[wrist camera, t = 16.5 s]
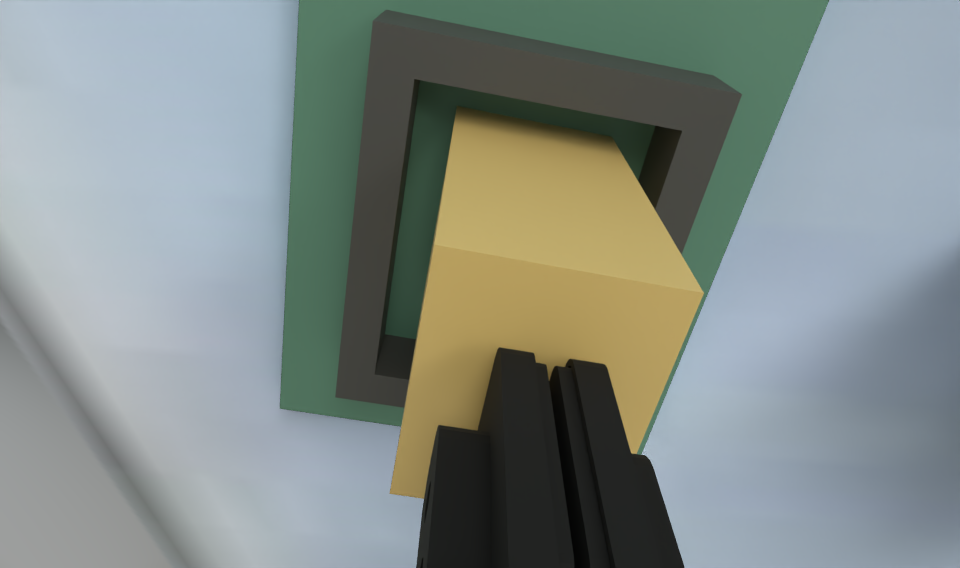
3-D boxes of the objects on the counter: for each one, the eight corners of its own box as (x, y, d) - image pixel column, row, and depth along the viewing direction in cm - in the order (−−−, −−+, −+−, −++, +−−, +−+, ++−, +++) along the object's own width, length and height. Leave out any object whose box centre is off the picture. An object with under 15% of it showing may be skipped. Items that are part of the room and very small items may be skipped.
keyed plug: (457, 106, 16) (434, 244, 9) (611, 136, 16) (704, 293, 9) (421, 307, 19) (382, 531, 12) (553, 330, 19) (591, 560, 12)
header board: (319, -185, 14) (280, -211, 11) (836, -69, 15) (909, -68, 12) (287, 389, 22) (261, 452, 19) (632, 441, 23) (651, 508, 20)
